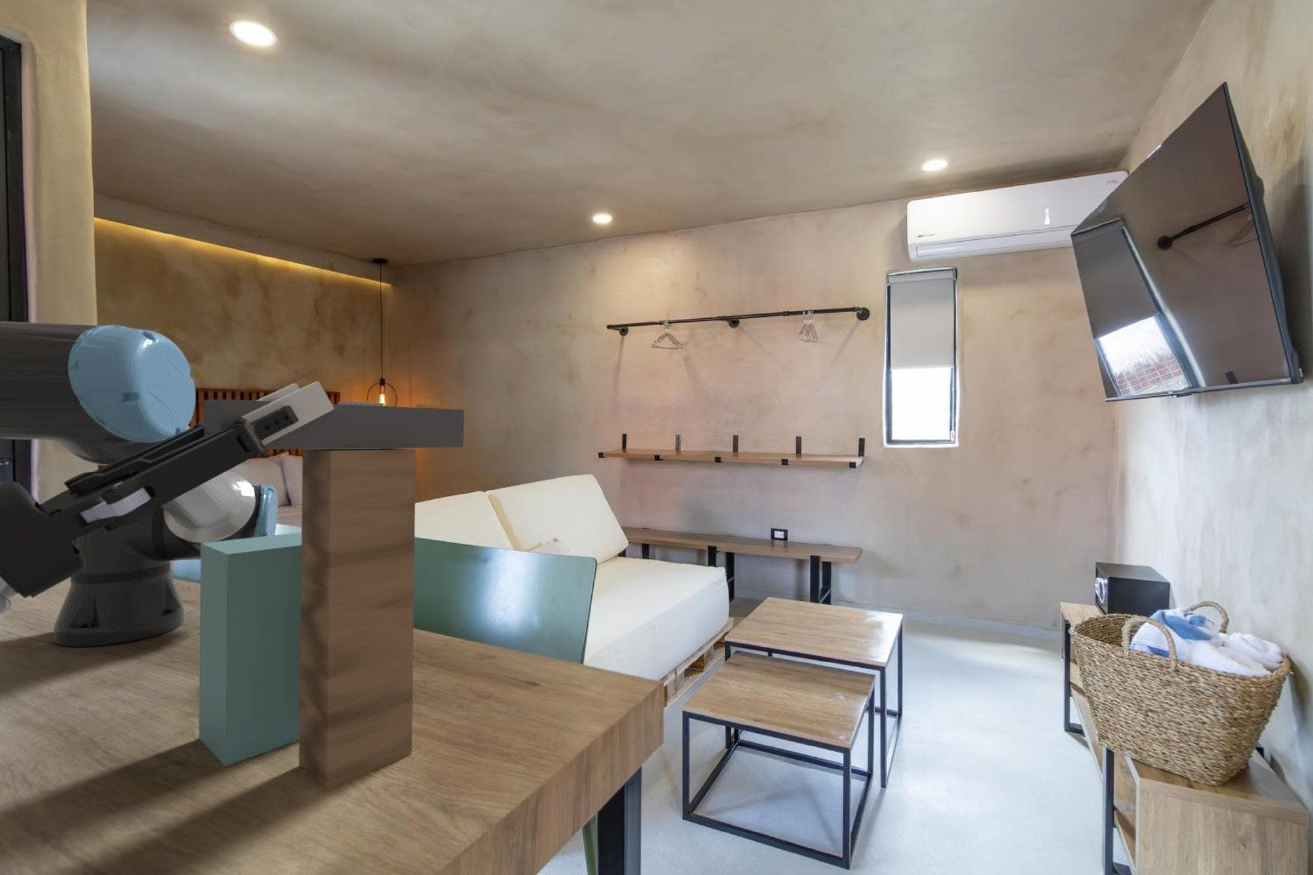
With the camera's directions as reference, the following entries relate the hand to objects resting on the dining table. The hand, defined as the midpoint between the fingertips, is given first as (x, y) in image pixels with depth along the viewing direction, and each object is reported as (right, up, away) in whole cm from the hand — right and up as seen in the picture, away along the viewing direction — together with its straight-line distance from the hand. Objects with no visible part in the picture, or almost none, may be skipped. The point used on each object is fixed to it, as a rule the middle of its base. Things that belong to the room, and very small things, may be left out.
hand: (312, 396), depth 55 cm
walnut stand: (+2, -35, +4) cm, 35 cm away
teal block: (-9, -35, +9) cm, 37 cm away
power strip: (+2, -5, +3) cm, 6 cm away
